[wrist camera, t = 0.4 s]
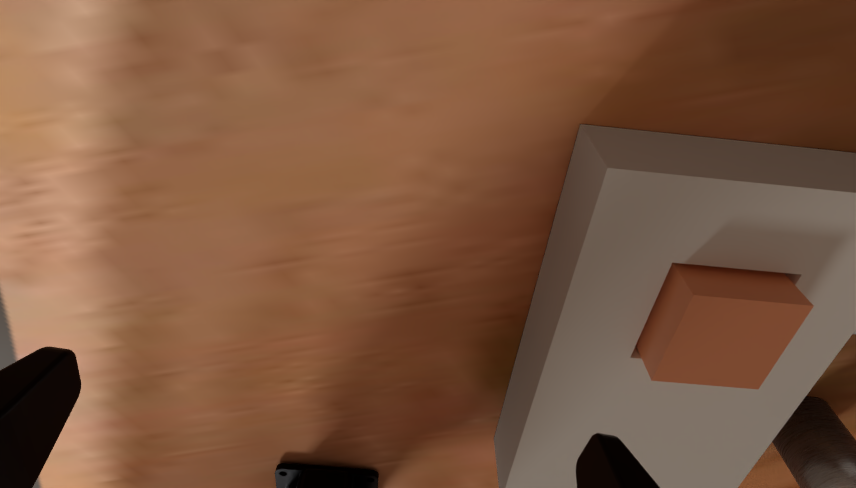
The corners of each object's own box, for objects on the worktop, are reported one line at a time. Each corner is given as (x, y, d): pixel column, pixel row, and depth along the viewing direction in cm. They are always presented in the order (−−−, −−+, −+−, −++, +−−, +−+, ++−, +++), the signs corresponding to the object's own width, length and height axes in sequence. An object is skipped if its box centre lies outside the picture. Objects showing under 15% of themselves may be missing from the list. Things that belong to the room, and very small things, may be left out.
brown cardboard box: (714, 322, 24) (758, 389, 21) (621, 314, 24) (651, 380, 21) (756, 243, 22) (814, 305, 19) (654, 233, 22) (693, 295, 18)
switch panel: (686, 453, 32) (715, 517, 29) (493, 438, 32) (500, 502, 28) (870, 154, 21) (951, 202, 18) (580, 123, 21) (607, 167, 17)
